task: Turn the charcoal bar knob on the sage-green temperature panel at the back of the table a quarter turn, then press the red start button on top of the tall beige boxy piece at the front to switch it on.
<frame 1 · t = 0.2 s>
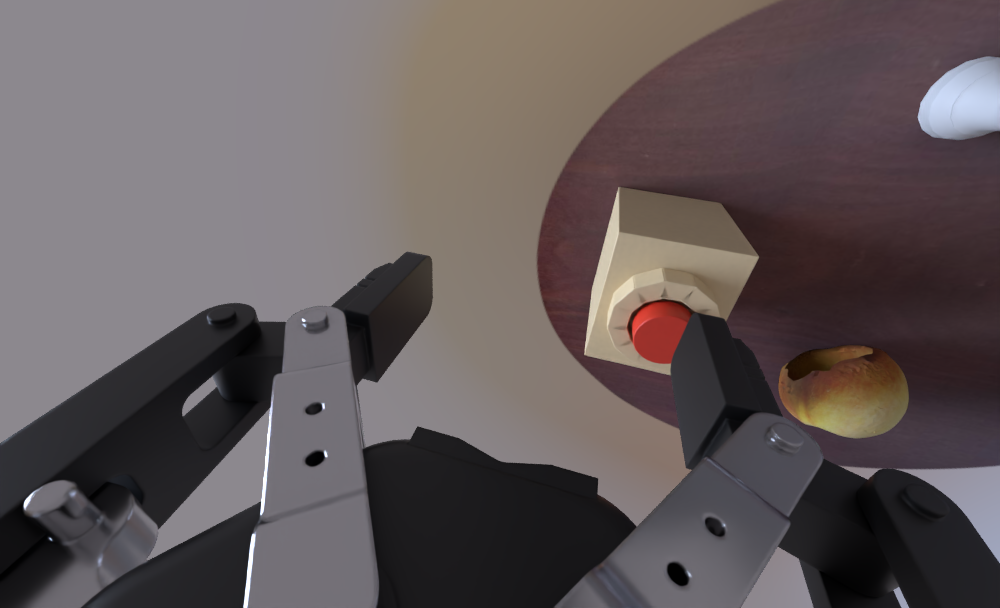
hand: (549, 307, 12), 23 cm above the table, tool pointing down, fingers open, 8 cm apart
fruit: (817, 355, 35), on the table
start button: (663, 332, 23), point 12 cm above the table, slide at 0.1 cm
beige boxy piece: (650, 250, 34), on the table
rook chess piece: (958, 98, 24), on the table
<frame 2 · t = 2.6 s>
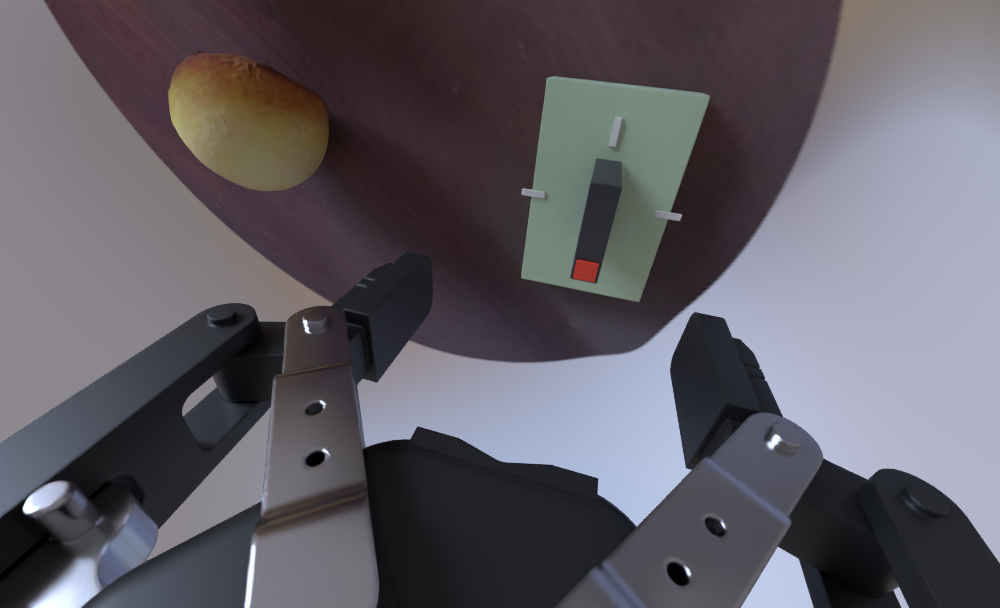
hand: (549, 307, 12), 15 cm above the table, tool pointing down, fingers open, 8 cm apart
dial panel: (600, 193, 24), on the table
fruit: (305, 116, 26), on the table
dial: (596, 219, 20), point 5 cm above the table, hinge at 0.0°
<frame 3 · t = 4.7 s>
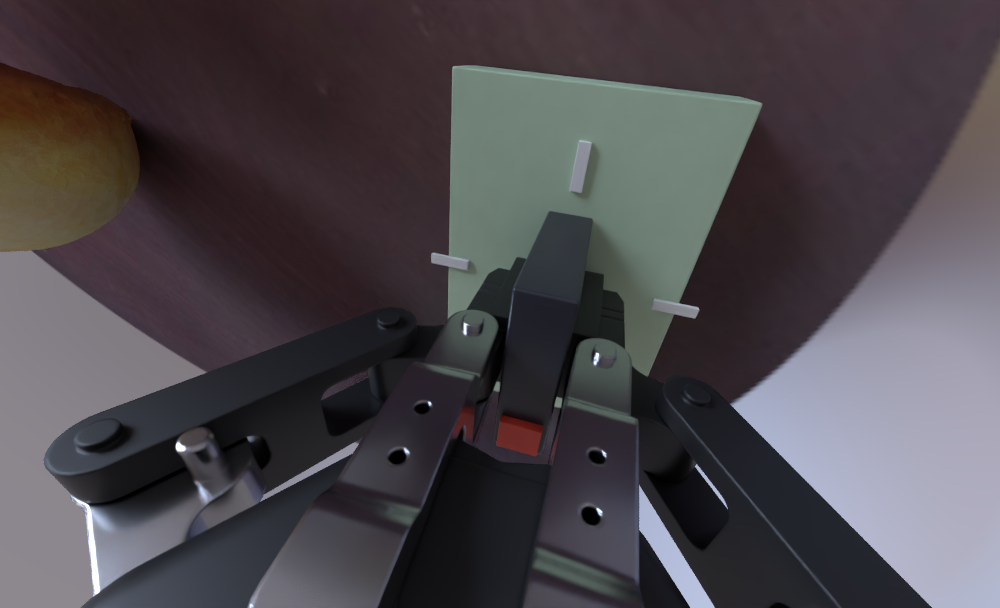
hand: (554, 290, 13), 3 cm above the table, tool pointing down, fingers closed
dial panel: (564, 258, 15), on the table
fruit: (118, 127, 17), on the table
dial: (544, 326, 11), point 5 cm above the table, hinge at 0.0°, touching gripper
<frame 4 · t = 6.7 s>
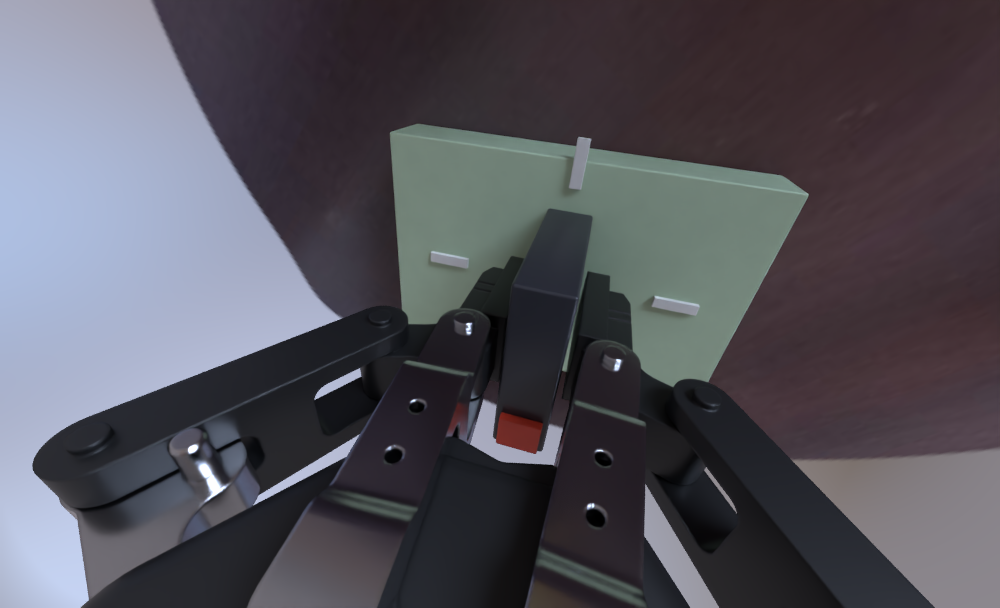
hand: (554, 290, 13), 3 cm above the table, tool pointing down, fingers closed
dial panel: (563, 256, 15), on the table
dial: (544, 324, 11), point 5 cm above the table, hinge at 89.8°
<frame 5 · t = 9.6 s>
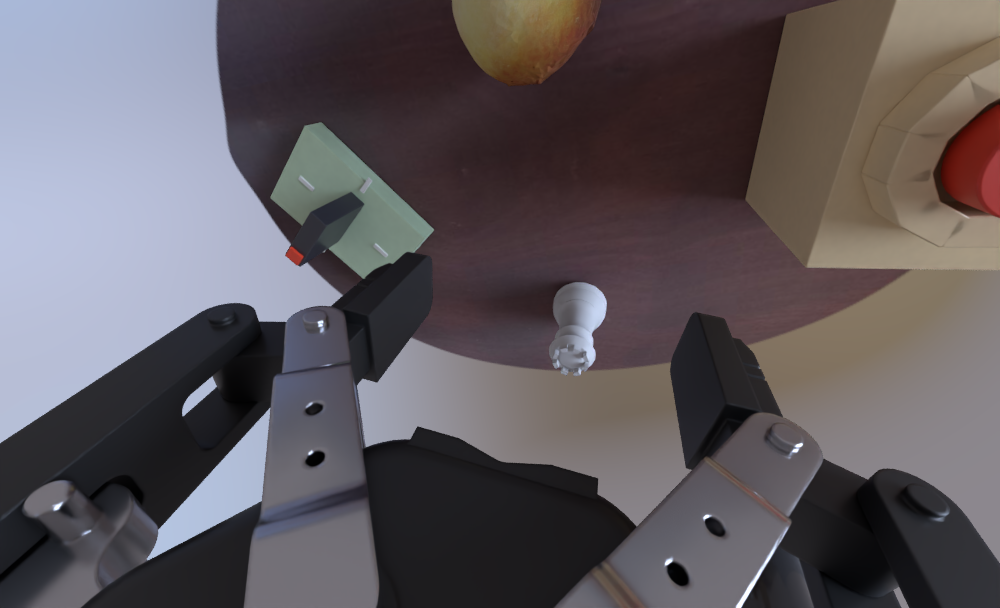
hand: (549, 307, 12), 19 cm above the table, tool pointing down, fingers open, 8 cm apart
dial panel: (358, 209, 34), on the table
fruit: (542, 5, 23), on the table
beige boxy piece: (843, 111, 22), on the table
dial: (325, 229, 30), point 5 cm above the table, hinge at 89.8°
rook chess piece: (580, 301, 33), on the table
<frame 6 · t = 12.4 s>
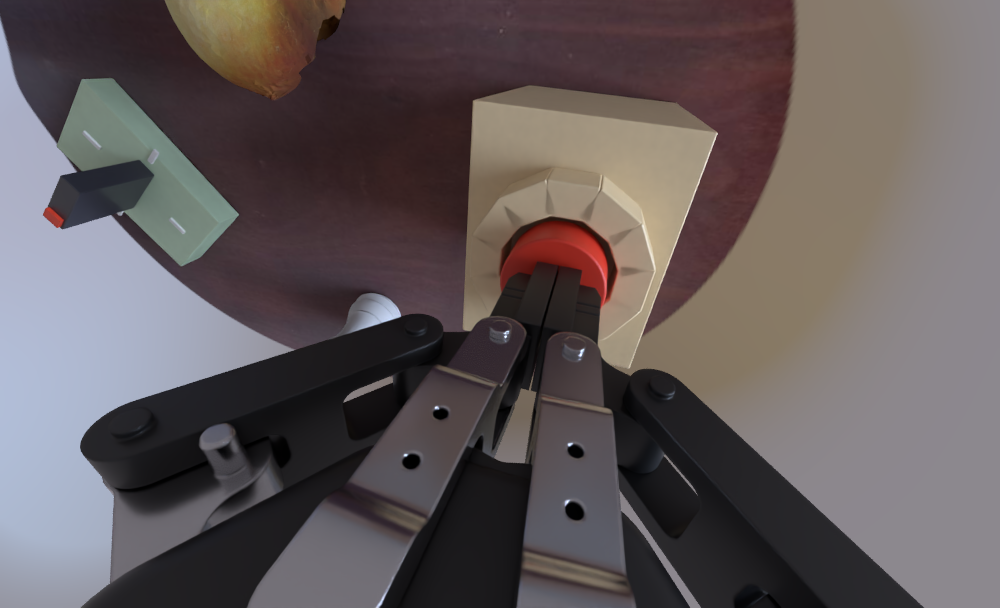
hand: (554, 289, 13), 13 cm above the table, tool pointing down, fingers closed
dial panel: (162, 178, 32), on the table
fruit: (318, 15, 23), on the table
start button: (554, 277, 14), point 12 cm above the table, slide at -0.1 cm, touching gripper
beige boxy piece: (581, 185, 24), on the table
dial: (99, 194, 28), point 5 cm above the table, hinge at 89.8°
rook chess piece: (382, 311, 34), on the table
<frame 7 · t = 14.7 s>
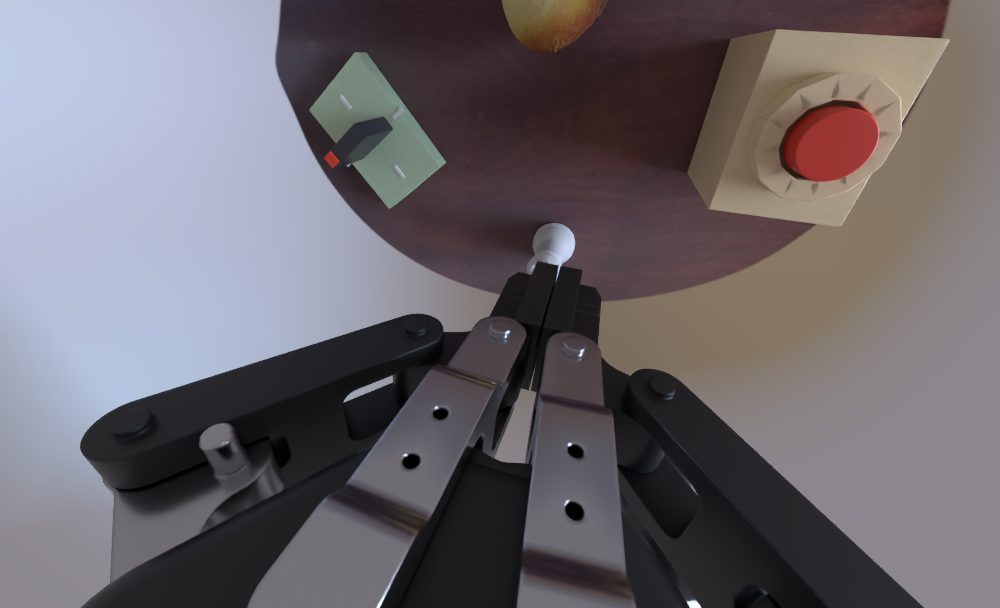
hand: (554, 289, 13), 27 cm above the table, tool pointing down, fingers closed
dial panel: (383, 135, 40), on the table
start button: (828, 144, 21), point 12 cm above the table, slide at 0.1 cm
beige boxy piece: (759, 116, 31), on the table
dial: (358, 142, 36), point 5 cm above the table, hinge at 89.8°
rook chess piece: (555, 240, 41), on the table
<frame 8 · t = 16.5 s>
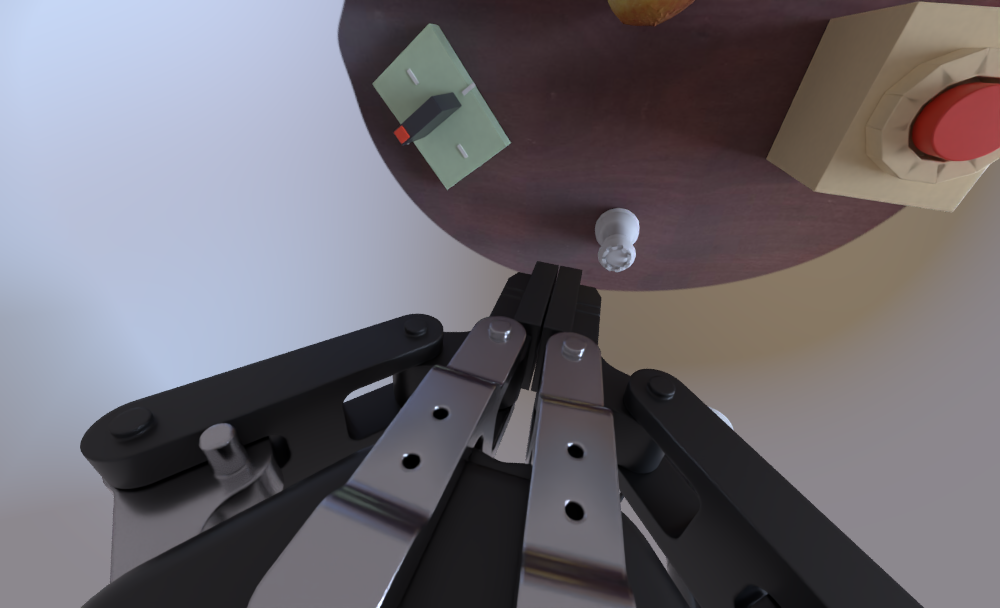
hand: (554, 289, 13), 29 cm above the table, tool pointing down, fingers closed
dial panel: (446, 112, 39), on the table
start button: (966, 122, 20), point 12 cm above the table, slide at 0.1 cm
beige boxy piece: (849, 101, 30), on the table
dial: (427, 118, 35), point 5 cm above the table, hinge at 89.8°
rook chess piece: (616, 226, 40), on the table
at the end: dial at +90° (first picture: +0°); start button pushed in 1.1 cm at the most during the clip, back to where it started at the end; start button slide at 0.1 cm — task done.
